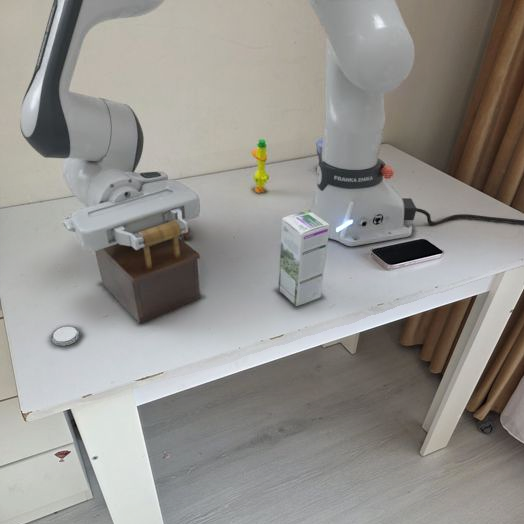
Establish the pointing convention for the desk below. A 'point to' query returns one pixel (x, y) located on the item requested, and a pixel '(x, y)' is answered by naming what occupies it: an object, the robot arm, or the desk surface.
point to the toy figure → (260, 166)
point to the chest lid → (152, 253)
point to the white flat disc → (65, 335)
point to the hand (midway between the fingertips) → (163, 236)
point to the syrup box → (302, 257)
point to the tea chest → (151, 288)
